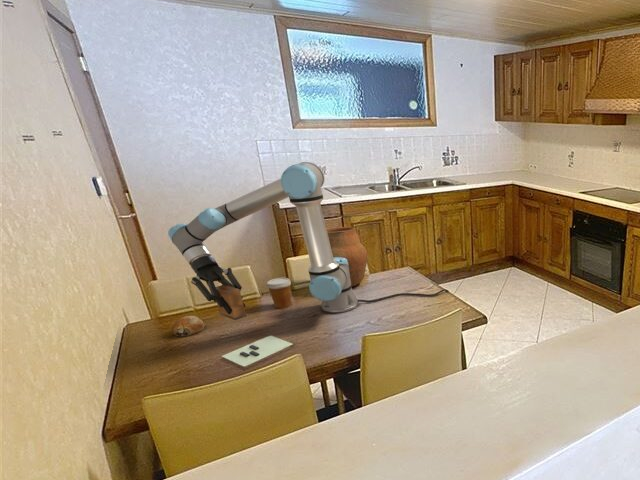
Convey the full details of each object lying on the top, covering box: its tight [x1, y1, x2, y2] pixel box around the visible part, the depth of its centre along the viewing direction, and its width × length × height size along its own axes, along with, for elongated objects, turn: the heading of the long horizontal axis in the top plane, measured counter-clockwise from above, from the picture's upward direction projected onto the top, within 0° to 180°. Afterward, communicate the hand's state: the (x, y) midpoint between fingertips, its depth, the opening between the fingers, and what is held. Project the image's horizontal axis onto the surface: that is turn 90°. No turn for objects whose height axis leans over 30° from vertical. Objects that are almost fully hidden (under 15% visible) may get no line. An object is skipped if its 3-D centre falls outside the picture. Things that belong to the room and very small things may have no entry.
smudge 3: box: [249, 351, 259, 356], centre depth 153 cm, size 1×4×1 cm, turn 62°
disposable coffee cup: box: [266, 277, 292, 309], centre depth 193 cm, size 10×10×12 cm
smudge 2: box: [249, 345, 259, 350], centre depth 157 cm, size 1×4×1 cm, turn 62°
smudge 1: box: [240, 352, 250, 357], centre depth 152 cm, size 1×4×1 cm, turn 62°
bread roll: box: [172, 315, 206, 337], centre depth 170 cm, size 10×10×8 cm
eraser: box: [215, 284, 247, 321], centre depth 159 cm, size 4×10×11 cm, turn 62°
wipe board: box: [221, 334, 293, 367], centre depth 156 cm, size 18×14×1 cm
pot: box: [326, 226, 368, 287], centre depth 215 cm, size 24×24×30 cm
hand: (237, 309), depth 158 cm, fingers closed on eraser, 4 cm apart
